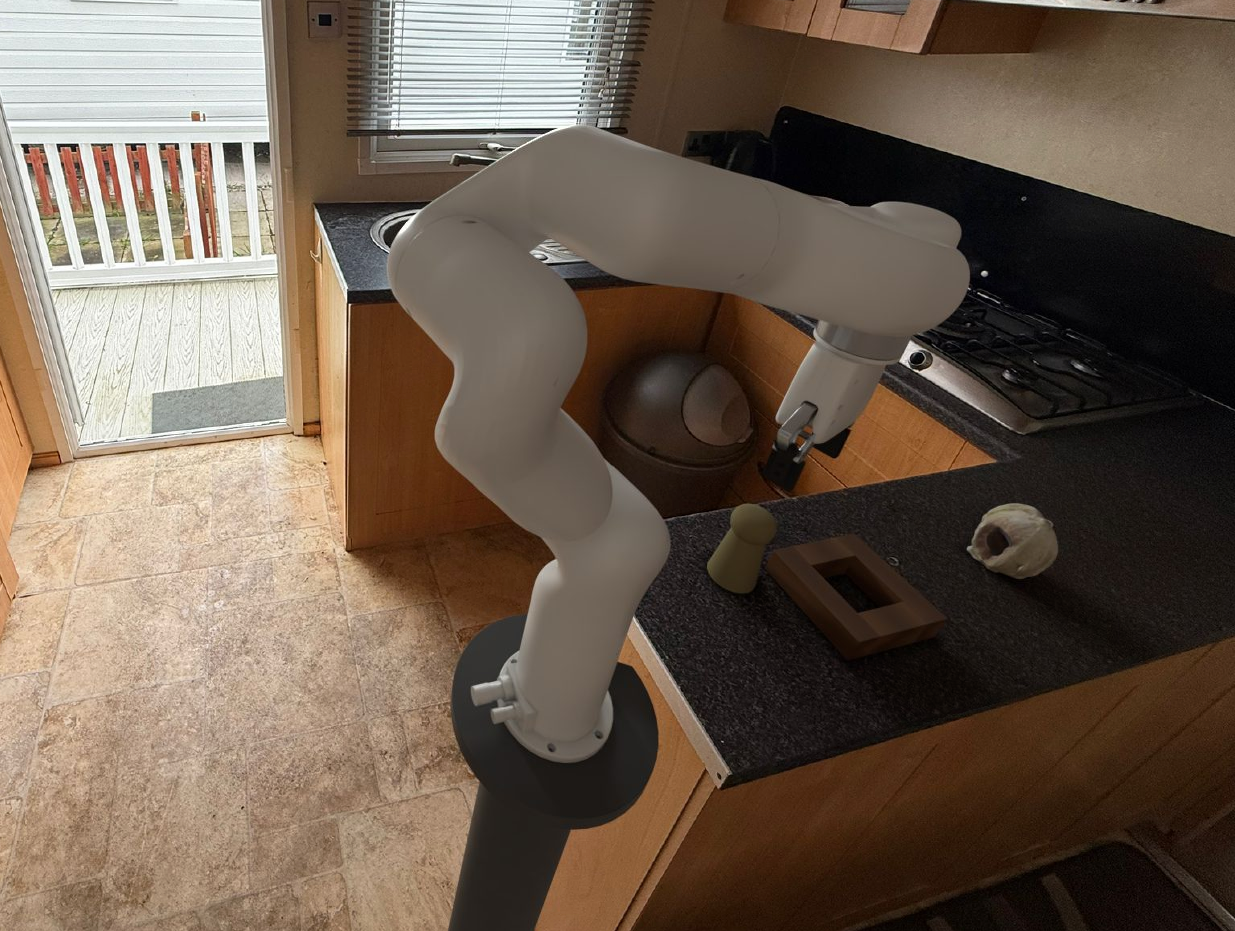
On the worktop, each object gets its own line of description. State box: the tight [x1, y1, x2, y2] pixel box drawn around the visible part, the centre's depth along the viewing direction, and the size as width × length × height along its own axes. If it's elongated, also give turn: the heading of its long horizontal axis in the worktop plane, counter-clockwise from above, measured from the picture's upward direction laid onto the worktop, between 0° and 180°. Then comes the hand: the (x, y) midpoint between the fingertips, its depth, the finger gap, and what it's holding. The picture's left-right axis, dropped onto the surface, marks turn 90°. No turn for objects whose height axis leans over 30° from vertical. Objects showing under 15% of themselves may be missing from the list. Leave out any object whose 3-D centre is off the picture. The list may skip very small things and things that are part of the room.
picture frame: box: [764, 533, 948, 662], centre depth 84 cm, size 14×14×4 cm
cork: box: [706, 503, 778, 595], centre depth 85 cm, size 6×6×11 cm
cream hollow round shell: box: [966, 503, 1059, 580], centre depth 90 cm, size 9×8×10 cm
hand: (800, 466), depth 72 cm, fingers open, 9 cm apart
